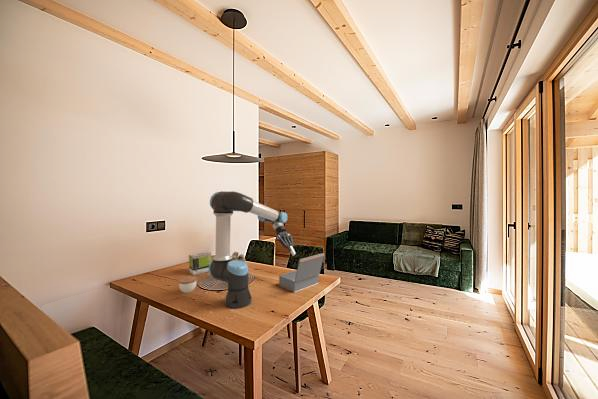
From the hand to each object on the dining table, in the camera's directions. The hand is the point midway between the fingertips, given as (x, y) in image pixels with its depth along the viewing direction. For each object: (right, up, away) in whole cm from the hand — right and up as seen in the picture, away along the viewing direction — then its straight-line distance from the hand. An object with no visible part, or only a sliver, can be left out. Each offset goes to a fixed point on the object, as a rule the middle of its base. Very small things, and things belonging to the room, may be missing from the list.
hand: (294, 254), depth 176 cm
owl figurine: (-45, -20, +23) cm, 55 cm away
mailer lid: (+10, -5, -11) cm, 16 cm away
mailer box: (+4, -20, -3) cm, 21 cm away
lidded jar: (-69, -22, -12) cm, 73 cm away
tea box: (-76, -20, +28) cm, 84 cm away
